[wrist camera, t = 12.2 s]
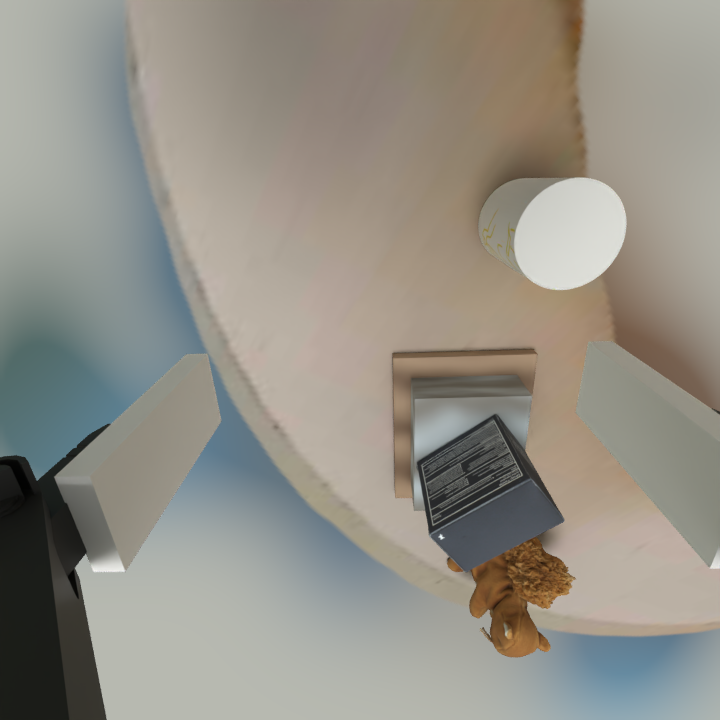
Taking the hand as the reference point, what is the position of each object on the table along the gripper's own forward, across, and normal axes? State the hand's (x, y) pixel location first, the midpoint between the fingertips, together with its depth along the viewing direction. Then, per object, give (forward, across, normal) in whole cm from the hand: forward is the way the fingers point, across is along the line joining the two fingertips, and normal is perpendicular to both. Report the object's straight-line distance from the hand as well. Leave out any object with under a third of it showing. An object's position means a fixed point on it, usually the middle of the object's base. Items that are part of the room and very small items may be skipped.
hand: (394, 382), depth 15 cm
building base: (+32, +9, -22) cm, 40 cm away
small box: (+25, +9, -22) cm, 35 cm away
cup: (+32, +14, +2) cm, 35 cm away
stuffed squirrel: (+32, +16, -43) cm, 56 cm away
